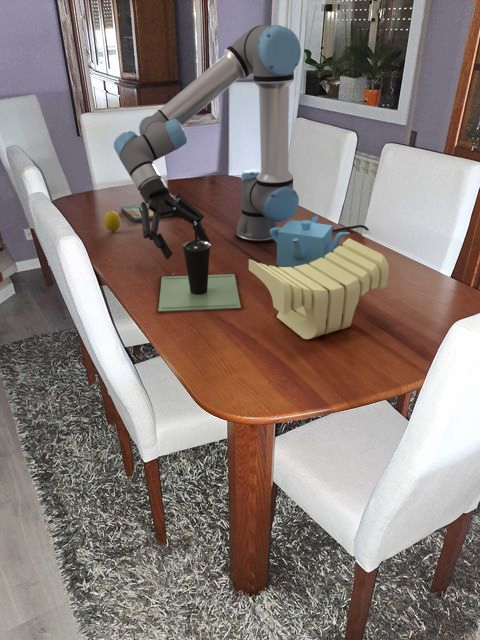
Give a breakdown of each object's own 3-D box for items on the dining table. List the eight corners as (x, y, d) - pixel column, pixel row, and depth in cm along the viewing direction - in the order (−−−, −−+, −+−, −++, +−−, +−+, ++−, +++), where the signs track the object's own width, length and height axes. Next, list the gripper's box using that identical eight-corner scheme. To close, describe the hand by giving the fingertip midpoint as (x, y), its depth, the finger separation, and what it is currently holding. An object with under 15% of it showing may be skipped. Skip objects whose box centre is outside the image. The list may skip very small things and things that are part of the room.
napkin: (234, 275, 159) (234, 273, 159) (240, 308, 141) (240, 307, 141) (161, 277, 158) (161, 276, 157) (158, 312, 139) (158, 310, 139)
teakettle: (264, 261, 169) (265, 216, 161) (315, 252, 175) (318, 209, 168) (292, 284, 154) (294, 236, 147) (346, 273, 161) (351, 227, 153)
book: (190, 213, 210) (190, 207, 209) (135, 223, 200) (134, 216, 198) (173, 202, 222) (173, 196, 221) (120, 211, 212) (119, 205, 211)
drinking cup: (180, 294, 147) (175, 225, 137) (192, 283, 153) (189, 216, 143) (204, 299, 145) (202, 229, 134) (216, 288, 151) (214, 220, 140)
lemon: (117, 235, 189) (115, 213, 184) (103, 234, 189) (100, 212, 185) (123, 230, 193) (121, 208, 189) (109, 229, 194) (106, 207, 190)
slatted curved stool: (281, 353, 122) (285, 284, 112) (248, 324, 134) (248, 258, 124) (380, 323, 134) (390, 258, 125) (341, 299, 146) (348, 238, 137)
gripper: (179, 184, 157) (215, 245, 156) (108, 201, 141) (147, 269, 141) (190, 169, 151) (227, 232, 150) (117, 185, 136) (158, 255, 135)
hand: (188, 250), depth 145 cm, fingers open, 13 cm apart
